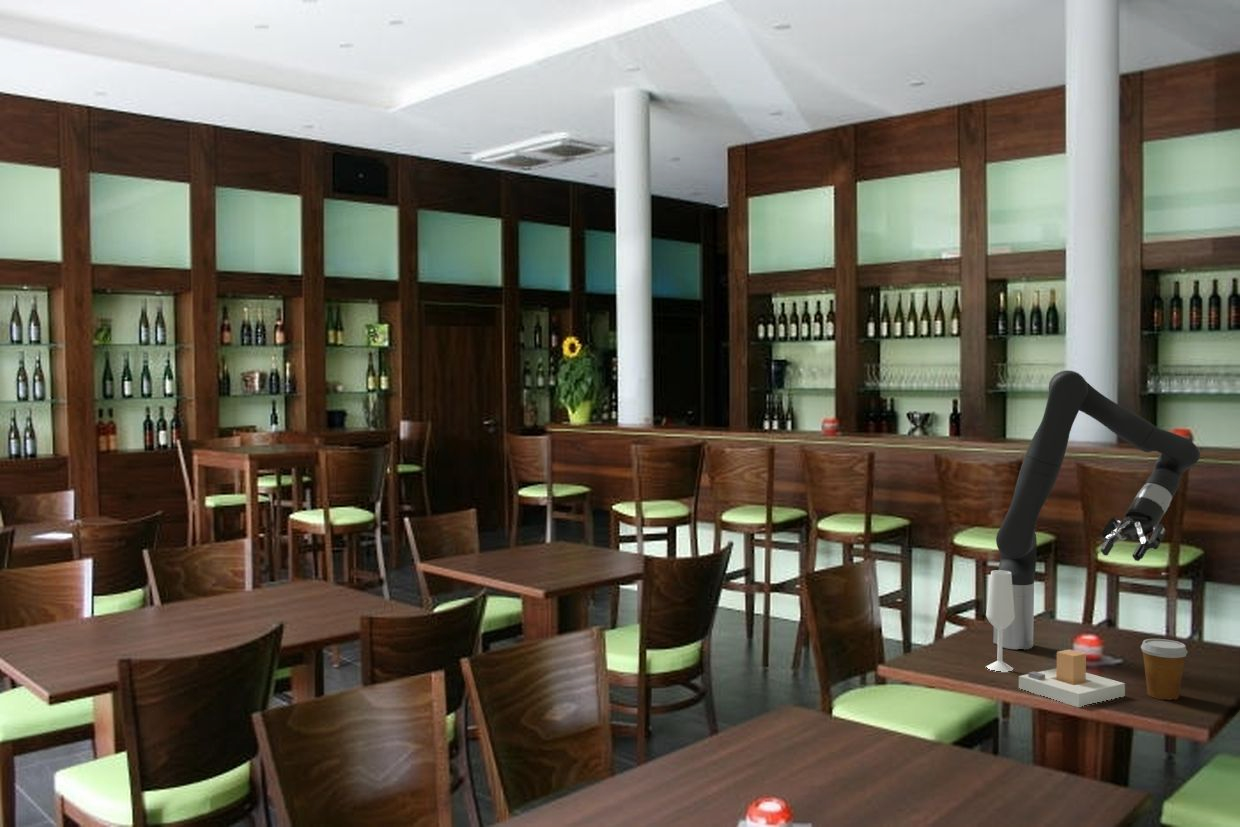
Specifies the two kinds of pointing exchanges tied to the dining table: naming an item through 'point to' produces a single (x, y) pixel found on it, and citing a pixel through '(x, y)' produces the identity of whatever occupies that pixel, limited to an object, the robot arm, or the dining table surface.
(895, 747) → the dining table surface
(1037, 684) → the socket plate
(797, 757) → the dining table surface
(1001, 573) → the champagne flute
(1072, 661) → the light brown rectangular block
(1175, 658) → the disposable coffee cup
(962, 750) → the dining table surface
